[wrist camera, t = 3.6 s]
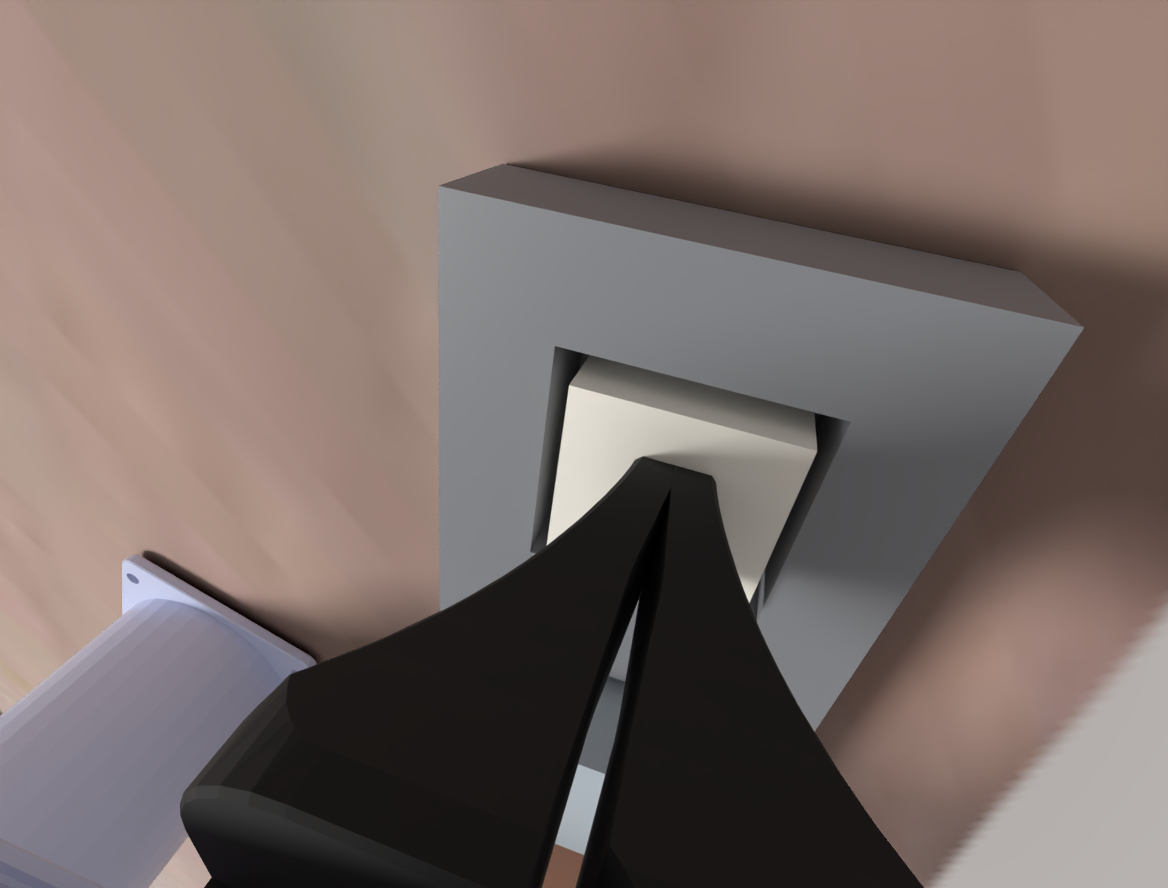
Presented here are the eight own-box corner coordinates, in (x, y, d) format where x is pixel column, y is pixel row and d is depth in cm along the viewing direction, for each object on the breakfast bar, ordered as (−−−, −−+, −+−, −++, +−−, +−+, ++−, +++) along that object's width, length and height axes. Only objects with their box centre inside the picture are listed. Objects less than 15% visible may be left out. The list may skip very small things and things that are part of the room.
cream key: (748, 538, 13) (741, 619, 11) (578, 488, 14) (544, 557, 12) (811, 383, 11) (817, 451, 9) (605, 331, 12) (568, 385, 10)
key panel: (674, 880, 24) (664, 956, 22) (468, 799, 25) (440, 864, 23) (1021, 271, 10) (1084, 327, 8) (502, 163, 11) (437, 185, 9)
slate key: (660, 782, 16) (643, 878, 14) (525, 732, 17) (492, 819, 15) (694, 701, 14) (680, 801, 12) (538, 647, 15) (501, 735, 13)
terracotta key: (612, 891, 21) (594, 976, 19) (507, 849, 22) (479, 926, 20) (632, 843, 19) (615, 933, 17) (514, 797, 19) (484, 879, 17)
